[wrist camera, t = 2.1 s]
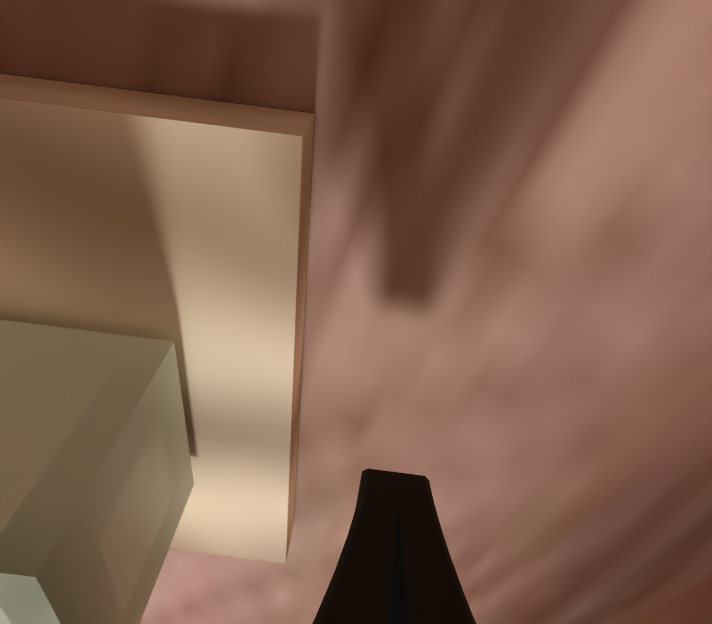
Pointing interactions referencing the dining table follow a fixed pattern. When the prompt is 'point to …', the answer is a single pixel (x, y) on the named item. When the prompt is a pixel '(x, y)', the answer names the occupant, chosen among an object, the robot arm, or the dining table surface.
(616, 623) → the dining table surface
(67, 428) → the pale green cube
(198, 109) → the stud board
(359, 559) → the robot arm
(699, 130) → the dining table surface
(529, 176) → the dining table surface
